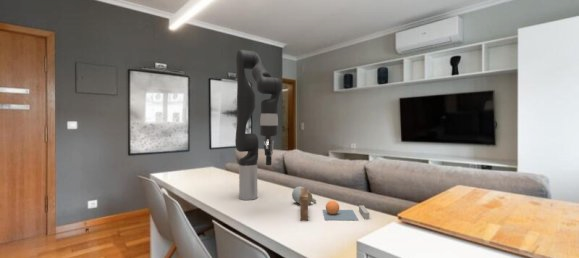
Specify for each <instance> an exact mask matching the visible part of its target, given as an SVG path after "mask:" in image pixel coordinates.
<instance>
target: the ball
mask: <svg viewBox="0 0 579 258" xmlns="http://www.w3.org/2000/svg"><path fill="white" fill-rule="evenodd" d="M325 210H327V212H328V213H329V214H336V213H338V211H339V210H340V205H339V203H338V202H337V201H336V200H329V201H327V203H326V205H325Z"/></svg>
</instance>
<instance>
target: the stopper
mask: <svg viewBox="0 0 579 258" xmlns="http://www.w3.org/2000/svg"><path fill="white" fill-rule="evenodd" d="M358 212H359V213H360V215H361V216H362V218H363V220H370V212H369V210H368V209H367V208H366V206H365V205H358Z"/></svg>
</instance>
